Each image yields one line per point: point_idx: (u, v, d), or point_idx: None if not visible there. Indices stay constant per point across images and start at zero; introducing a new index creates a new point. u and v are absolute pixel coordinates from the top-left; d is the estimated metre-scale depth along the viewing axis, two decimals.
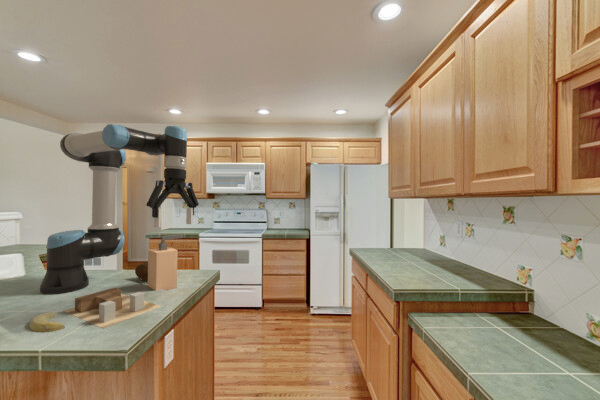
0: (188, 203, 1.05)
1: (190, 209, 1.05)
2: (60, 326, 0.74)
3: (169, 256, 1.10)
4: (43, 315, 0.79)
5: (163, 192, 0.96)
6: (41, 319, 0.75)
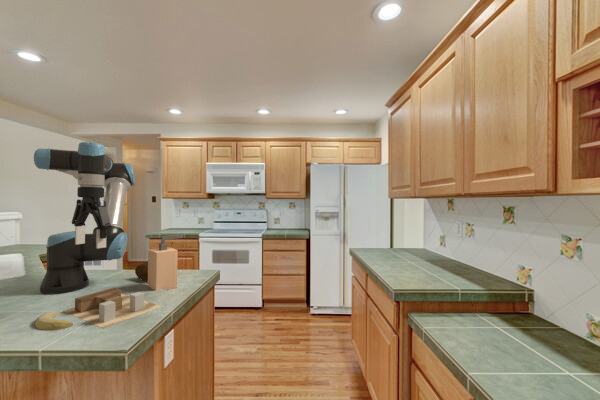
0: None
1: None
2: (68, 324, 0.75)
3: (169, 256, 1.10)
4: (48, 314, 0.79)
5: None
6: (47, 318, 0.76)
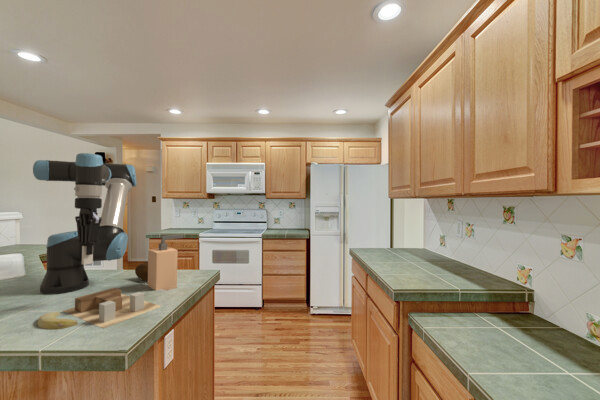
0: None
1: None
2: (74, 322, 0.76)
3: (169, 256, 1.10)
4: (49, 314, 0.79)
5: None
6: (51, 318, 0.77)
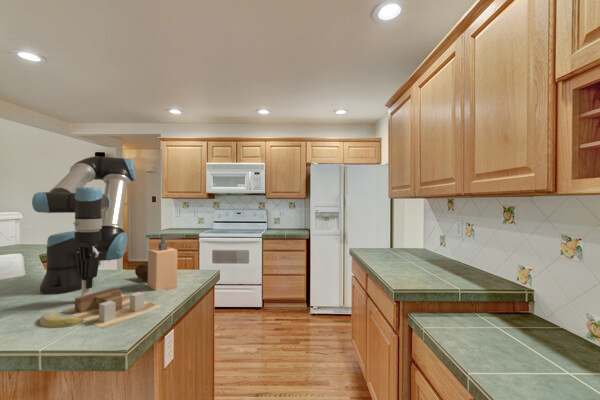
0: None
1: None
2: (80, 320, 0.78)
3: (169, 256, 1.10)
4: (51, 314, 0.80)
5: None
6: (55, 317, 0.77)
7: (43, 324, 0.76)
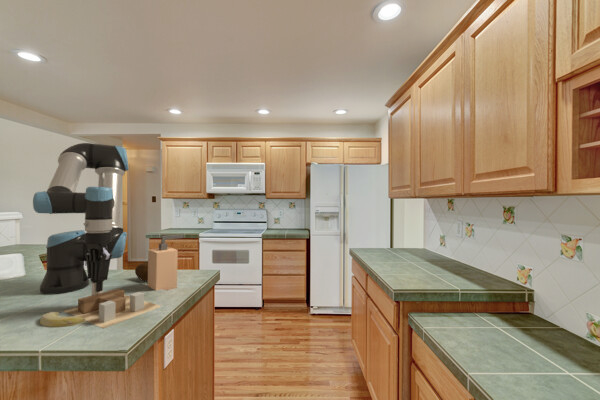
0: None
1: None
2: (82, 319, 0.78)
3: (169, 256, 1.10)
4: (52, 314, 0.80)
5: None
6: (56, 316, 0.77)
7: (44, 324, 0.76)
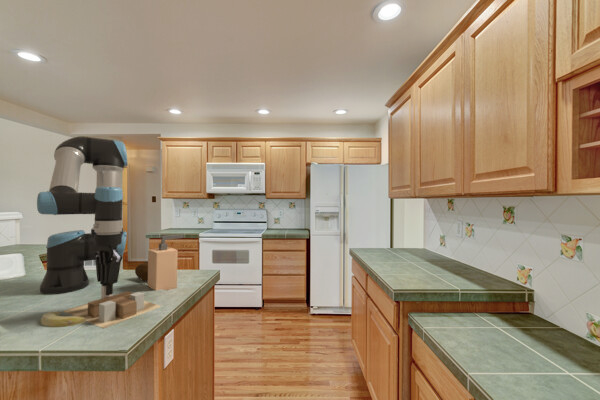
0: None
1: None
2: (83, 319, 0.78)
3: (169, 256, 1.10)
4: (52, 313, 0.80)
5: None
6: (57, 316, 0.78)
7: (45, 323, 0.76)
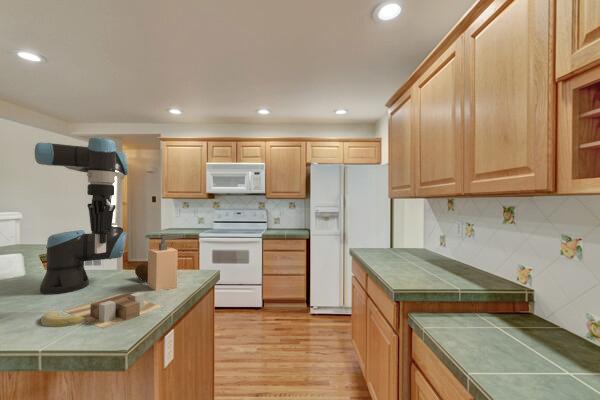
0: None
1: None
2: (82, 319, 0.78)
3: (169, 256, 1.10)
4: (52, 313, 0.80)
5: None
6: (57, 316, 0.78)
7: (45, 323, 0.76)
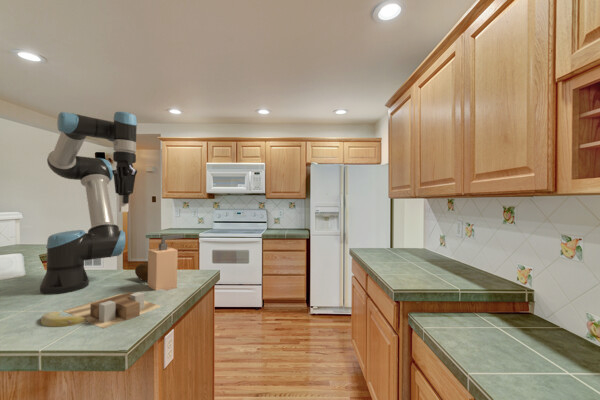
0: None
1: None
2: (82, 319, 0.78)
3: (169, 256, 1.10)
4: (52, 313, 0.80)
5: None
6: (57, 316, 0.78)
7: (45, 323, 0.76)
